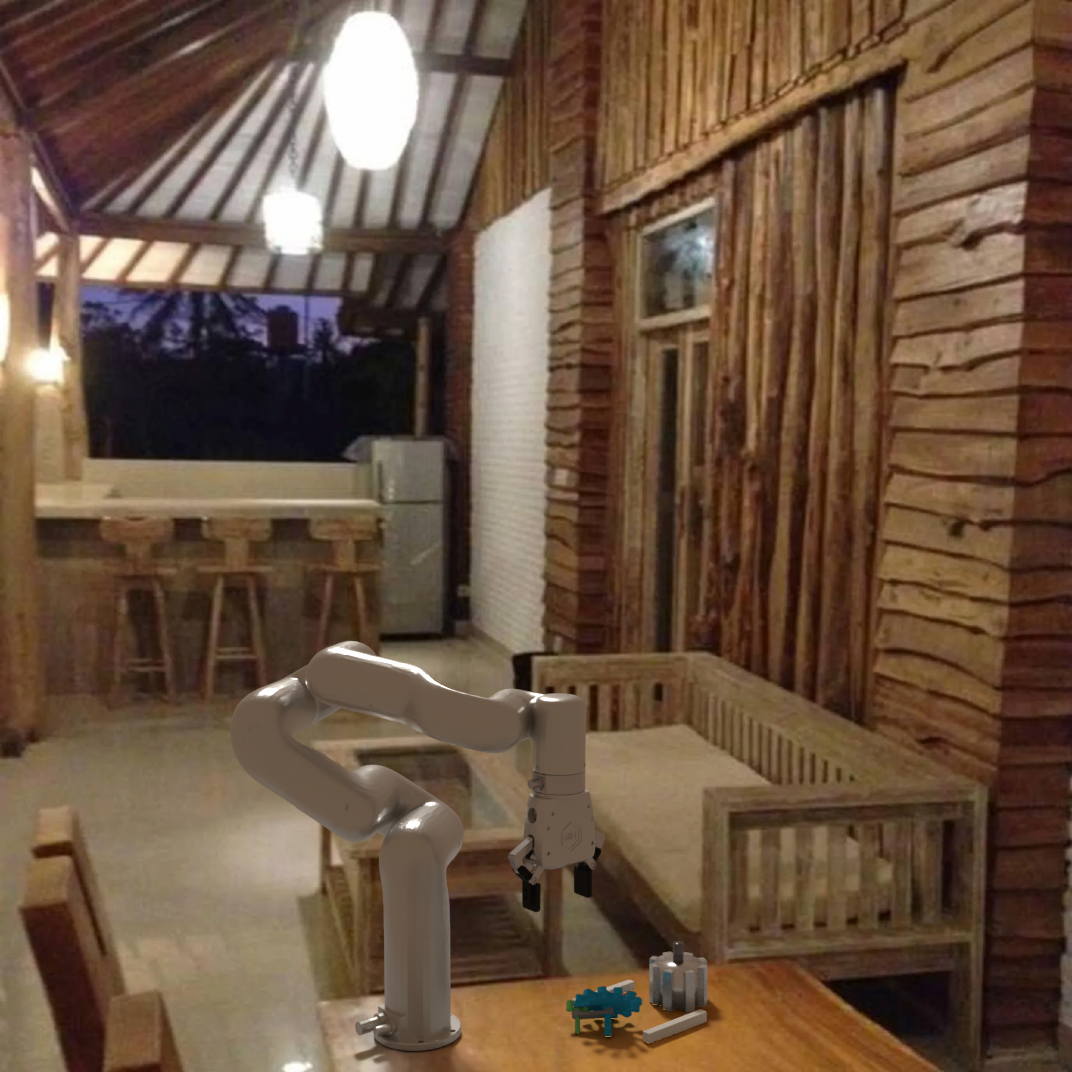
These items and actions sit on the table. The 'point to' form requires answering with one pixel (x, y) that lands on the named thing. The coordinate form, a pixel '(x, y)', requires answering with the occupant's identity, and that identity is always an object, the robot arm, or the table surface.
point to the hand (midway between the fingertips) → (557, 902)
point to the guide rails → (668, 1027)
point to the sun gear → (678, 980)
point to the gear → (603, 1006)
